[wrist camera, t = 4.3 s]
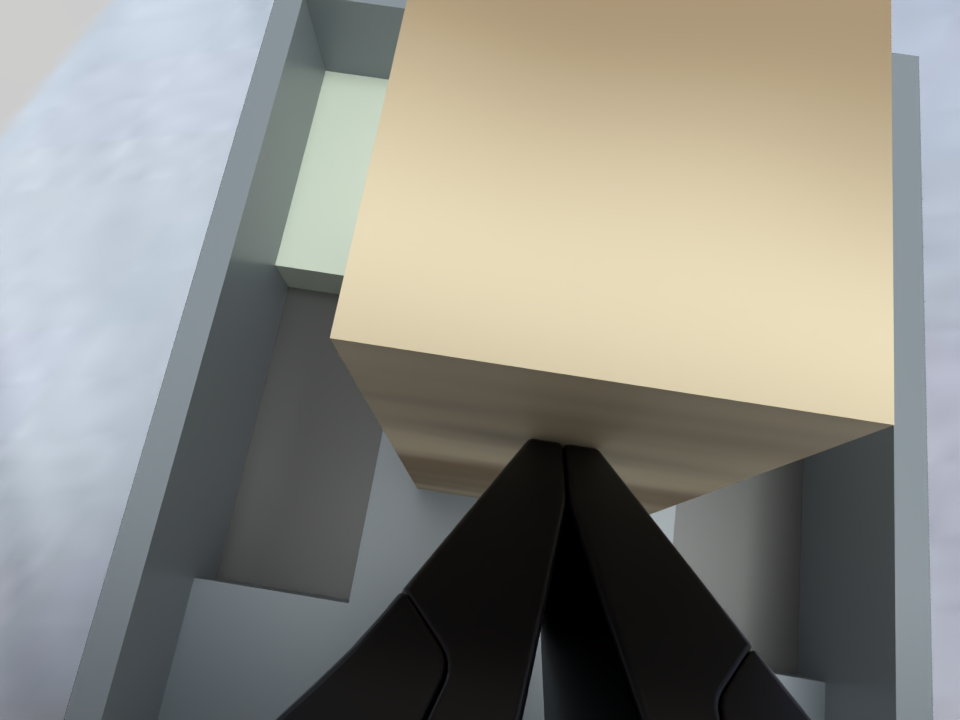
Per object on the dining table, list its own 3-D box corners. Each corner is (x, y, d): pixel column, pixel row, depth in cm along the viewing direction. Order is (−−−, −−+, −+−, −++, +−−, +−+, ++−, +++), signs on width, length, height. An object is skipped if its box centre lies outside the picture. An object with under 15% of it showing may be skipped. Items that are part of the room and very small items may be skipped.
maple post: (628, 521, 15) (894, 423, 6) (417, 488, 15) (328, 337, 6) (647, 322, 17) (890, -31, 7) (452, 292, 17) (427, -94, 7)
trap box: (815, 948, 14) (940, 1081, 11) (126, 825, 15) (7, 911, 11) (831, 158, 20) (919, 56, 16) (319, 86, 20) (283, -31, 16)
